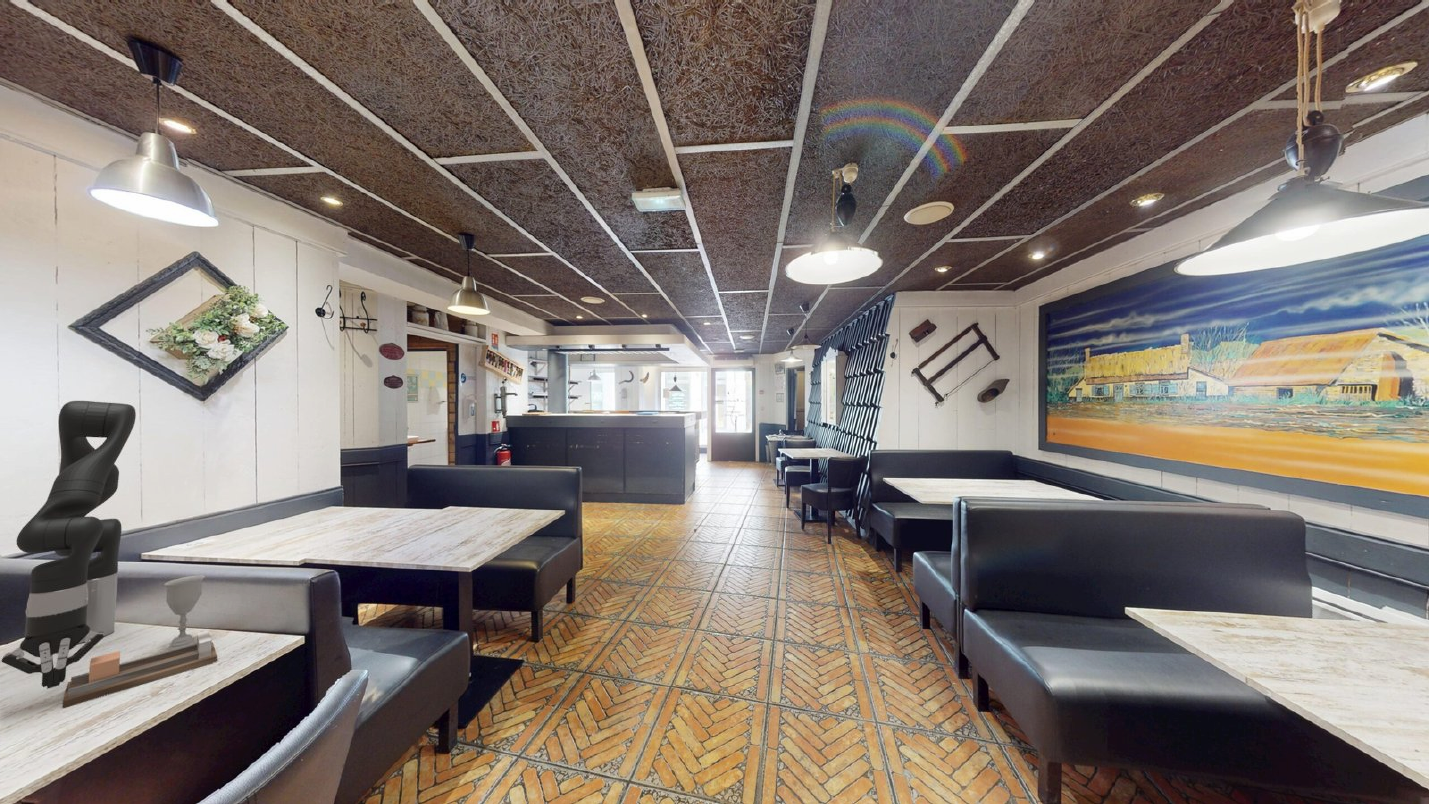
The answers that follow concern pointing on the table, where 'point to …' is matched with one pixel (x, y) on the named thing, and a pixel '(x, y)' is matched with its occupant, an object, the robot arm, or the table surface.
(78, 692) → the rail board
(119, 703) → the table surface
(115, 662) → the orange-brown block
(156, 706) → the table surface
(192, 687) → the table surface
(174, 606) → the chalice
